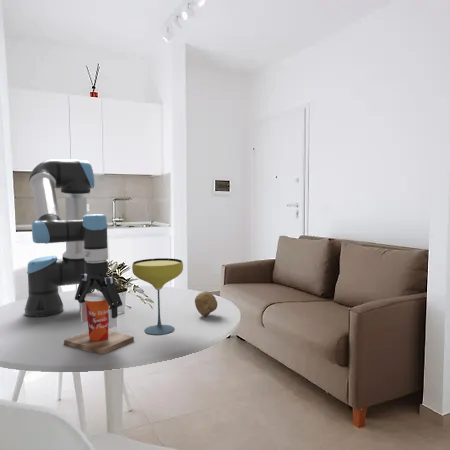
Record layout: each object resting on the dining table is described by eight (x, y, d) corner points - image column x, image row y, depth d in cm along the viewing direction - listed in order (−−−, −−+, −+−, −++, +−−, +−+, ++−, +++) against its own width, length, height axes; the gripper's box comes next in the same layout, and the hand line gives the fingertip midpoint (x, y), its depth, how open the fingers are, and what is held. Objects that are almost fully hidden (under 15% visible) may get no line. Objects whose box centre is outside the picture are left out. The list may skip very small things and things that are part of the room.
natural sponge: (212, 311, 172) (212, 288, 172) (221, 317, 164) (220, 292, 163) (192, 314, 169) (191, 290, 168) (199, 320, 160) (199, 295, 160)
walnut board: (63, 344, 136) (63, 339, 136) (97, 332, 148) (97, 328, 148) (101, 354, 127) (101, 349, 126) (133, 340, 138) (133, 336, 138)
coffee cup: (88, 344, 132) (86, 298, 131) (84, 336, 139) (82, 292, 138) (114, 339, 135) (113, 294, 134) (109, 332, 143) (107, 290, 142)
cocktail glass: (177, 320, 161) (176, 257, 159) (190, 334, 144) (188, 263, 143) (130, 325, 155) (128, 260, 153) (138, 341, 138) (136, 267, 136)
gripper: (62, 260, 139) (64, 321, 140) (114, 265, 126) (116, 333, 127) (80, 257, 145) (82, 316, 147) (132, 262, 132) (134, 326, 133)
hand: (98, 324), depth 137 cm, fingers open, 13 cm apart
